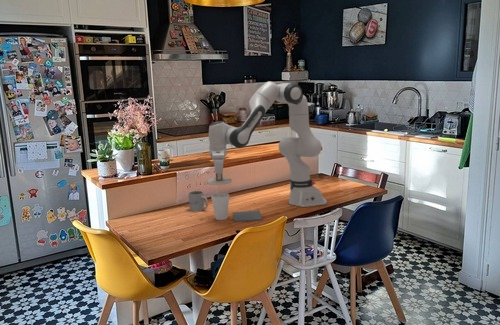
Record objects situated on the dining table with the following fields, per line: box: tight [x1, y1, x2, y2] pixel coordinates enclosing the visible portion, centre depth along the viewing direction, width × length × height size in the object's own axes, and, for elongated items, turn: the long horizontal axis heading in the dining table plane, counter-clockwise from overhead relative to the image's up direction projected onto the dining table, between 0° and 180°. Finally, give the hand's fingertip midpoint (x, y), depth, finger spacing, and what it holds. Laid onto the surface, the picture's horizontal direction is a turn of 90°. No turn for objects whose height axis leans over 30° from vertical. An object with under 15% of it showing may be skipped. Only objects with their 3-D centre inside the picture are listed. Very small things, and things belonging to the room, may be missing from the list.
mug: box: [188, 190, 209, 213], centre depth 247 cm, size 12×9×10 cm
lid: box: [206, 172, 233, 186], centre depth 228 cm, size 13×13×4 cm
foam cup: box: [210, 192, 230, 221], centre depth 231 cm, size 10×9×13 cm
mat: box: [232, 210, 263, 223], centre depth 233 cm, size 15×15×1 cm
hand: (219, 178), depth 228 cm, fingers closed on lid, 4 cm apart
